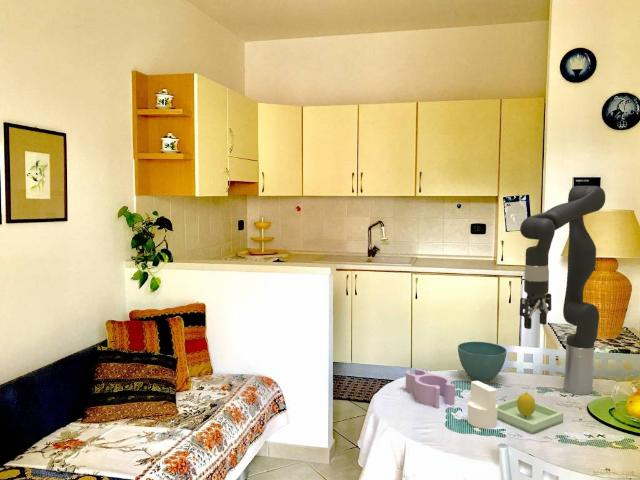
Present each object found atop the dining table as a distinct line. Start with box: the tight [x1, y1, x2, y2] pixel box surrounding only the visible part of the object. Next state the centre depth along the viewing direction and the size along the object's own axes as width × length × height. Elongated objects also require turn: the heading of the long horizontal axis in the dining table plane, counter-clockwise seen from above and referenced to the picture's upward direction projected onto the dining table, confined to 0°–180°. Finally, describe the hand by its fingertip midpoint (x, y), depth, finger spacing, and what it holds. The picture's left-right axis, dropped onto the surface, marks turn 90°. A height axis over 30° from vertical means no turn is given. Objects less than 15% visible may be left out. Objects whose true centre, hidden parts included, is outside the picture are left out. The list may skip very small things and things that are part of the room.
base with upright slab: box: [467, 380, 498, 430], centre depth 172 cm, size 9×9×12 cm
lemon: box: [517, 392, 536, 417], centre depth 174 cm, size 6×6×8 cm
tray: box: [496, 396, 564, 435], centre depth 175 cm, size 16×16×3 cm
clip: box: [404, 368, 456, 409], centre depth 193 cm, size 20×12×7 cm, turn 27°
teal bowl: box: [457, 341, 508, 383], centre depth 212 cm, size 18×18×12 cm
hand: (535, 326), depth 181 cm, fingers open, 8 cm apart
